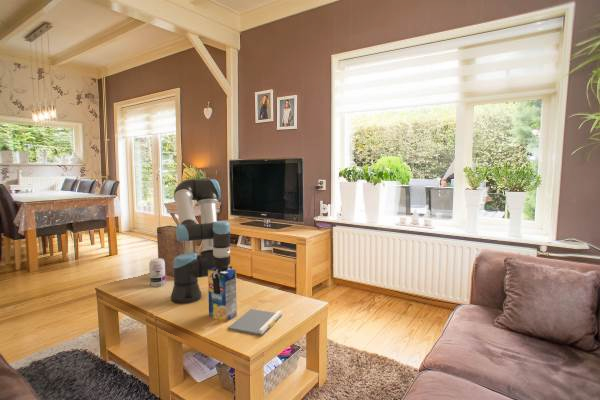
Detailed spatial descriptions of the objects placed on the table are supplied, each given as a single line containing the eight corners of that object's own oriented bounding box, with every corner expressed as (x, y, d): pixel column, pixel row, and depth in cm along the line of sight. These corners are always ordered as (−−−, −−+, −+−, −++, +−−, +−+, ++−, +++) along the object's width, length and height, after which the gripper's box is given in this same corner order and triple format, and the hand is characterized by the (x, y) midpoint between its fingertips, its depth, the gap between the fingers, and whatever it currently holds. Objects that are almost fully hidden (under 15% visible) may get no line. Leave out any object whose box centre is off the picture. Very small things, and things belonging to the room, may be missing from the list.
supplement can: (160, 281, 201) (159, 257, 200) (168, 284, 196) (167, 259, 195) (147, 285, 195) (146, 260, 193) (155, 288, 190) (154, 262, 188)
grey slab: (228, 329, 141) (228, 324, 141) (250, 310, 160) (250, 305, 160) (263, 336, 136) (263, 330, 136) (282, 316, 155) (282, 310, 154)
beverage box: (226, 322, 148) (225, 273, 146) (208, 316, 154) (207, 269, 152) (236, 316, 154) (236, 269, 152) (219, 310, 160) (218, 265, 158)
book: (196, 275, 212) (195, 229, 210) (184, 279, 205) (183, 231, 202) (170, 269, 226) (169, 225, 223) (158, 272, 218) (156, 227, 215)
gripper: (219, 261, 143) (220, 314, 145) (238, 252, 157) (238, 300, 160) (204, 259, 145) (205, 311, 148) (224, 250, 160) (225, 298, 162)
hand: (222, 305), depth 154 cm, fingers open, 2 cm apart
